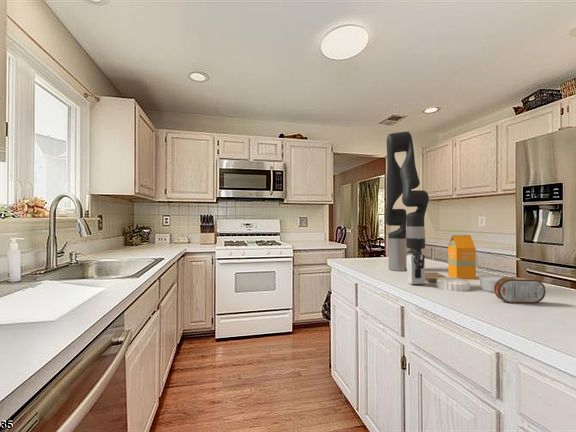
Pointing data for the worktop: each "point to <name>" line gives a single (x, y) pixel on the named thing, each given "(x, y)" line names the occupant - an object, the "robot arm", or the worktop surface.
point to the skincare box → (411, 271)
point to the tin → (519, 290)
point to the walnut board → (432, 277)
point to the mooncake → (453, 284)
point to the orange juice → (462, 257)
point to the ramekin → (489, 282)
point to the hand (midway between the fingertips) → (415, 276)
